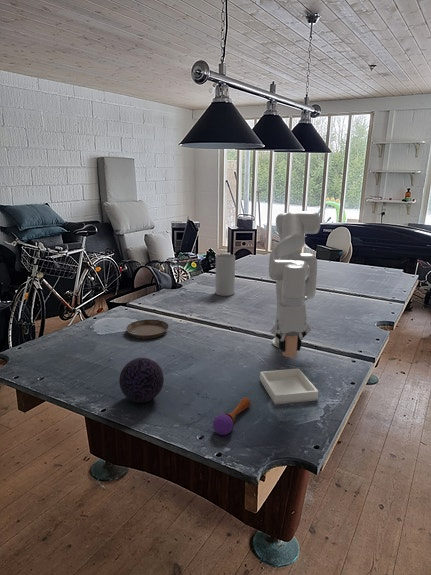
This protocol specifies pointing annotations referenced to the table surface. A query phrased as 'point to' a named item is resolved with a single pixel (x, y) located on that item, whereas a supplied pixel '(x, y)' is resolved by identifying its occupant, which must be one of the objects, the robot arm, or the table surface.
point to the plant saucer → (147, 328)
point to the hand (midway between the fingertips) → (289, 349)
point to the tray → (288, 386)
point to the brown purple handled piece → (229, 418)
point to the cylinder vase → (225, 274)
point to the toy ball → (141, 380)
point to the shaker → (291, 344)
